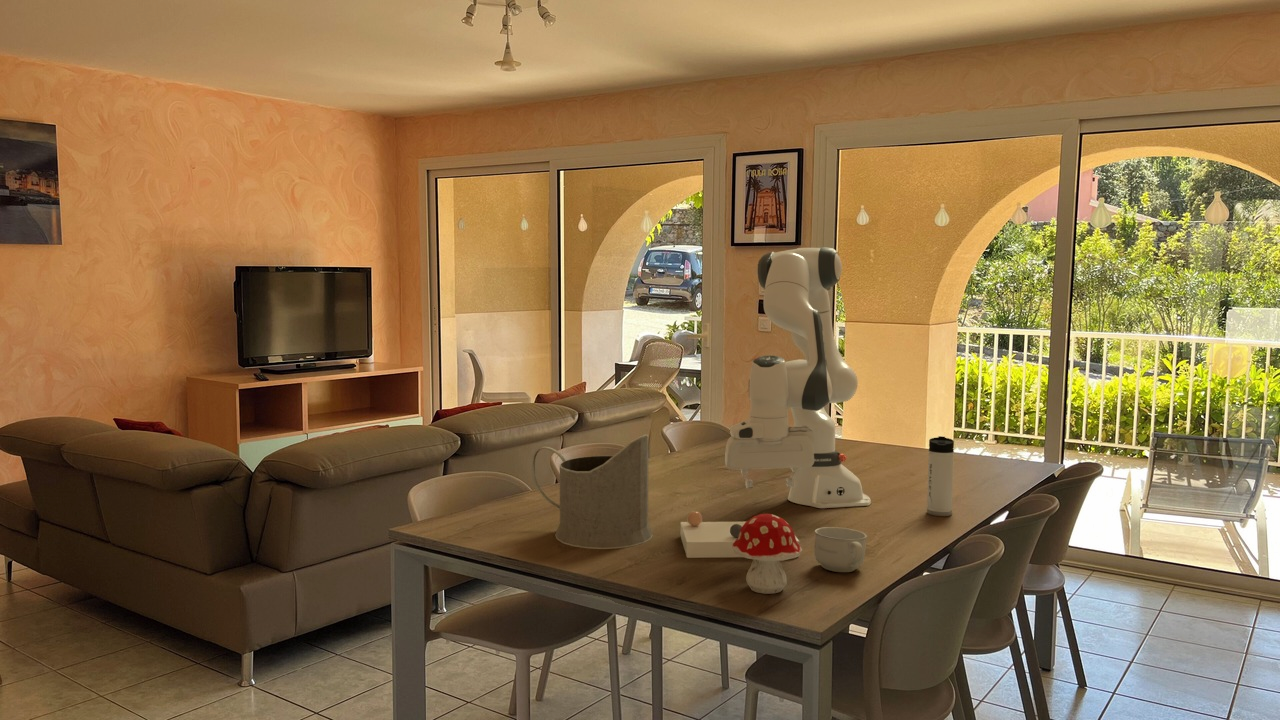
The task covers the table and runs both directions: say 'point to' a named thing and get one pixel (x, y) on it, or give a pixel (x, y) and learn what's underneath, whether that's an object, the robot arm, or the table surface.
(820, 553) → the teacup
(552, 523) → the table surface
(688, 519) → the terracotta ball
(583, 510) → the pitcher
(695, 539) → the white slab
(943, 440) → the travel mug
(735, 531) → the black rubber ball
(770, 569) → the decorative mushroom
